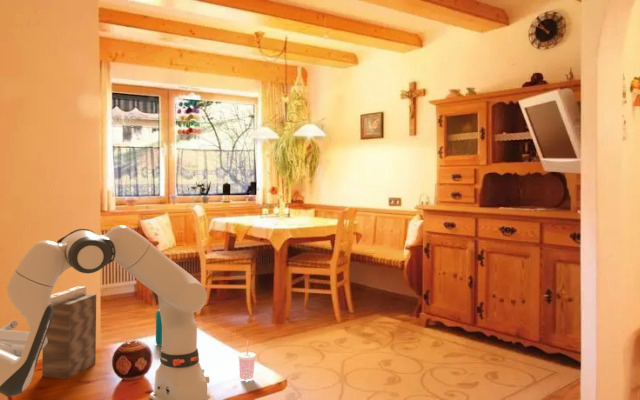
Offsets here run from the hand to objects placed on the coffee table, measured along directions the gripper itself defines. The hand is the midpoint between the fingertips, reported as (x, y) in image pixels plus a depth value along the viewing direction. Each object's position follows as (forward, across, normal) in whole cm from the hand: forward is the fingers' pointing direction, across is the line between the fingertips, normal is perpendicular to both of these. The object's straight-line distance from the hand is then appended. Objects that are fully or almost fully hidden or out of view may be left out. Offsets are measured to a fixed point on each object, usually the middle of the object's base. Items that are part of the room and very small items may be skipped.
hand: (28, 323), depth 169 cm
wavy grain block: (+7, 0, +31) cm, 31 cm away
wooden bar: (+16, 0, +6) cm, 17 cm away
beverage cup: (+12, -64, +34) cm, 74 cm away
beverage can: (+37, -19, +48) cm, 63 cm away
